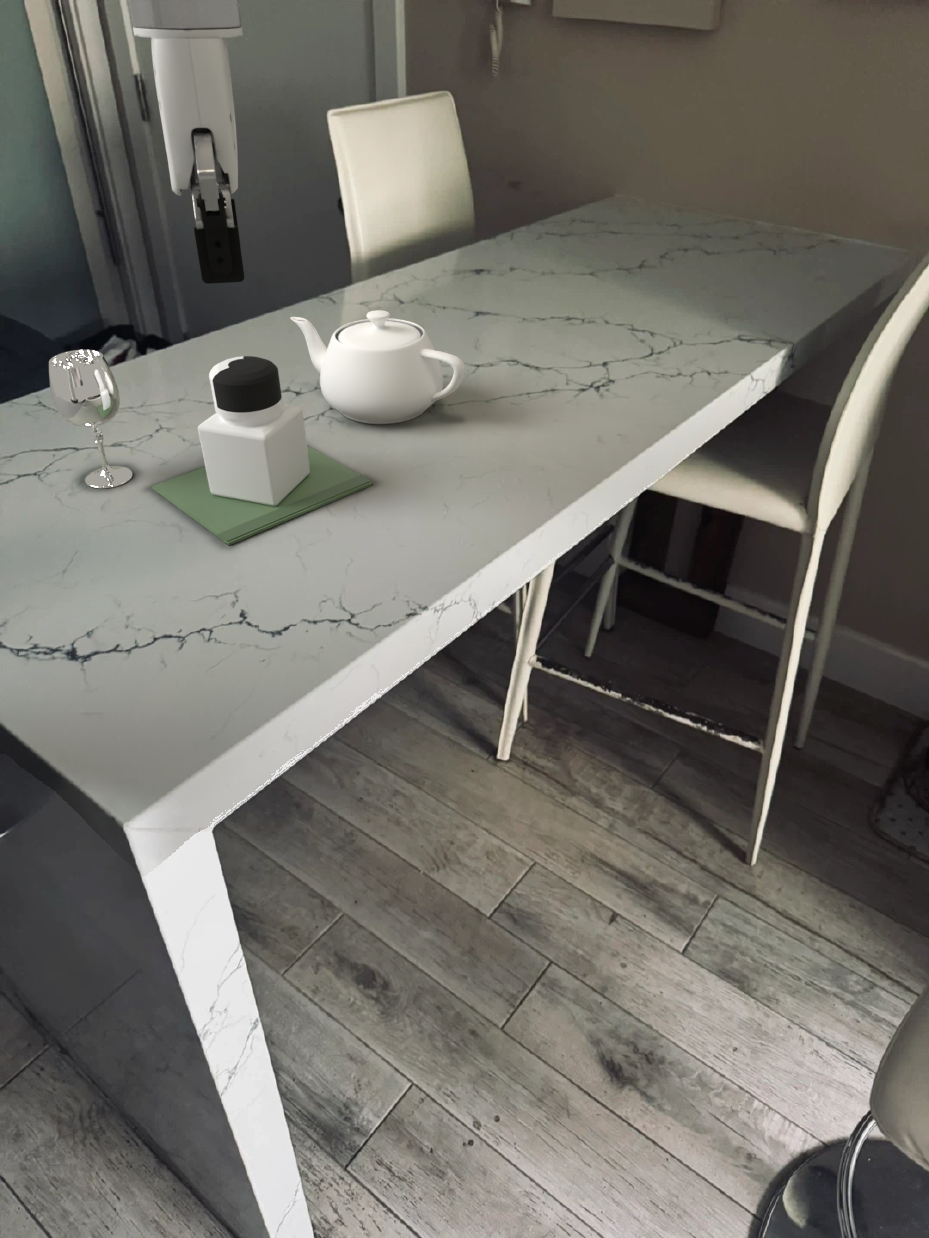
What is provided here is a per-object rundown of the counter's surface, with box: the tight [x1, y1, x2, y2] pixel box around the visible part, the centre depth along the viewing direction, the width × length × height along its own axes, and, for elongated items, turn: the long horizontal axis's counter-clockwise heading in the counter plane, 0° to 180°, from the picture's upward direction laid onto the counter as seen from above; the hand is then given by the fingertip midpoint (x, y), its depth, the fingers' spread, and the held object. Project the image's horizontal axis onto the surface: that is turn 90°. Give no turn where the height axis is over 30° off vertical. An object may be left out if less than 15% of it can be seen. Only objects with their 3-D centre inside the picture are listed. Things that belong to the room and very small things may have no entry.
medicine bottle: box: [197, 355, 310, 506], centre depth 81 cm, size 7×7×12 cm
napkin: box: [151, 445, 373, 546], centre depth 84 cm, size 16×14×1 cm
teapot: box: [289, 309, 466, 425], centre depth 96 cm, size 22×14×11 cm, turn 63°
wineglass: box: [48, 349, 134, 489], centre depth 82 cm, size 6×6×12 cm
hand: (222, 265), depth 72 cm, fingers open, 9 cm apart
